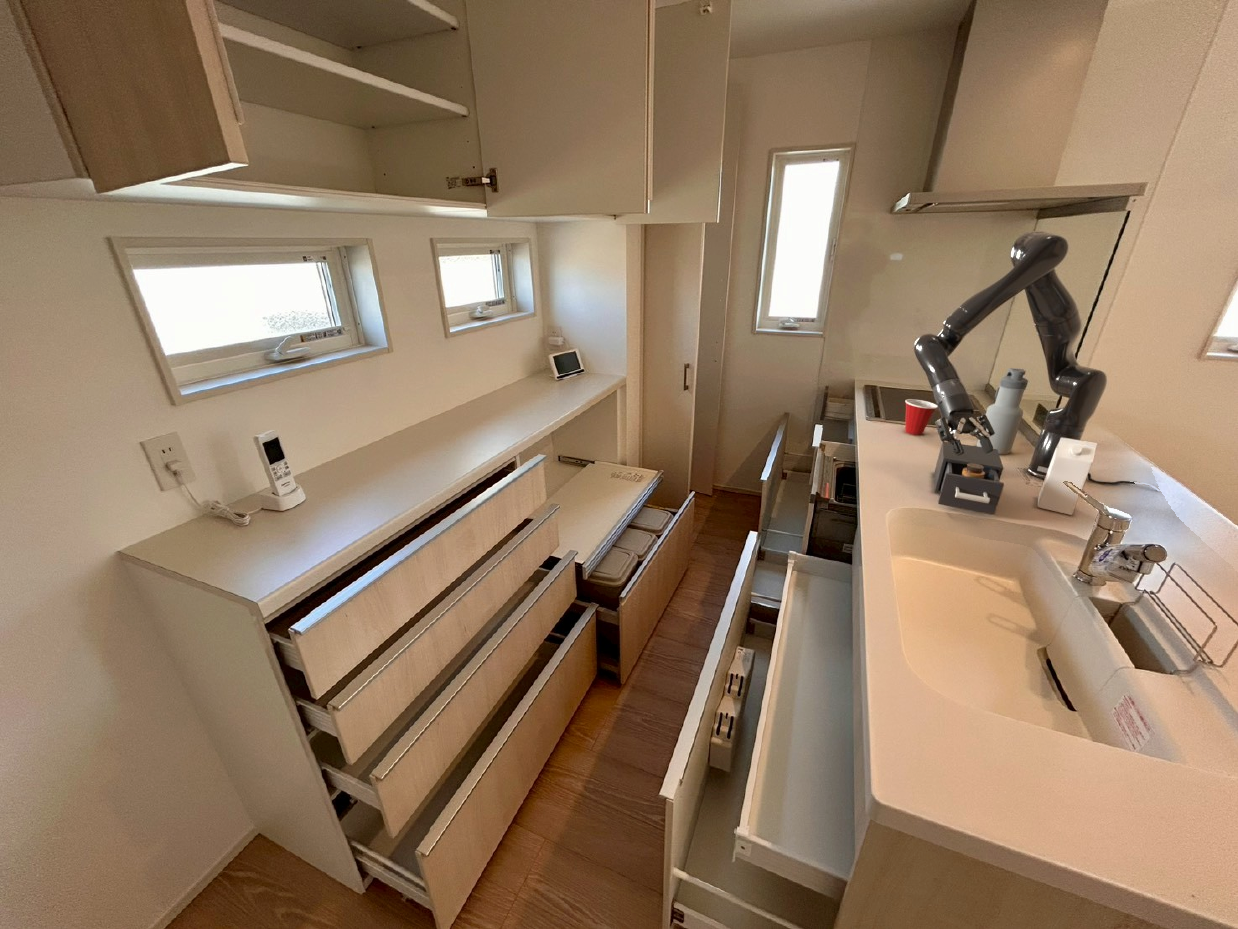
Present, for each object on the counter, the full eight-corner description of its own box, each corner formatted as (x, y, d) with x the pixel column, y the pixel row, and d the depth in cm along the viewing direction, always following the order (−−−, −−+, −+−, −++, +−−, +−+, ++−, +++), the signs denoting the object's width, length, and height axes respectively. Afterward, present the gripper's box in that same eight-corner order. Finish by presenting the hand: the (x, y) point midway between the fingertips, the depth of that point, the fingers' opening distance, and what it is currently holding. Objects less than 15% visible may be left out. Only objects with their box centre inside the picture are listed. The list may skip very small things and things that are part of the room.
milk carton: (1037, 498, 138) (1060, 433, 131) (1071, 505, 134) (1097, 439, 126) (1036, 507, 133) (1060, 441, 125) (1071, 515, 129) (1098, 447, 121)
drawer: (996, 523, 123) (1006, 492, 120) (938, 512, 129) (946, 481, 126) (988, 493, 139) (997, 464, 136) (937, 484, 145) (944, 456, 141)
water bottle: (974, 442, 178) (997, 365, 168) (1007, 447, 174) (1033, 367, 163) (977, 452, 170) (1002, 371, 159) (1012, 457, 166) (1040, 374, 155)
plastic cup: (935, 438, 183) (944, 406, 178) (904, 436, 185) (911, 405, 180) (924, 428, 193) (931, 398, 188) (894, 427, 195) (901, 397, 190)
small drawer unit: (992, 503, 135) (1003, 467, 131) (934, 492, 142) (943, 458, 137) (986, 482, 148) (997, 449, 144) (933, 473, 154) (942, 441, 150)
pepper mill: (975, 496, 135) (985, 464, 131) (977, 503, 131) (987, 470, 127) (955, 492, 137) (964, 461, 133) (955, 499, 133) (965, 467, 129)
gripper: (965, 404, 140) (987, 457, 135) (919, 407, 138) (940, 460, 132) (985, 391, 134) (1010, 445, 128) (938, 393, 132) (961, 449, 126)
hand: (974, 453), depth 130 cm, fingers open, 8 cm apart
